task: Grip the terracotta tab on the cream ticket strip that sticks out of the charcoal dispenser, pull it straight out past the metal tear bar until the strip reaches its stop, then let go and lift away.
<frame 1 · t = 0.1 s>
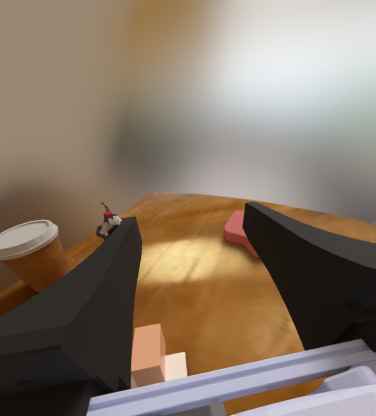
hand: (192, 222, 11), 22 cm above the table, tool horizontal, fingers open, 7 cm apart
disposable coffee cup: (53, 279, 35), on the table
sundae: (126, 265, 38), on the table
plaque: (261, 240, 43), on the table
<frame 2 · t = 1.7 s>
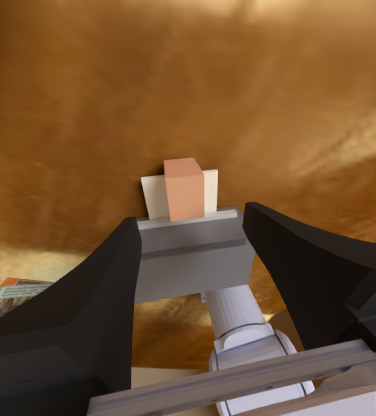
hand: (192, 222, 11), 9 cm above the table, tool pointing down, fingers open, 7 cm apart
ticket: (185, 226, 18), point 3 cm above the table, slide at 0.0 cm
milk carton: (52, 301, 27), on the table
dispenser: (184, 236, 23), on the table
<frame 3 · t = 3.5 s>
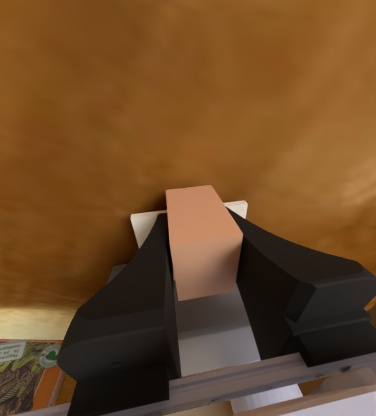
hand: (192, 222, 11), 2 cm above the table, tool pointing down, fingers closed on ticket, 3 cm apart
ticket: (198, 284, 12), point 3 cm above the table, slide at 0.0 cm, touching gripper
milk carton: (21, 357, 21), on the table
dispenser: (193, 281, 17), on the table
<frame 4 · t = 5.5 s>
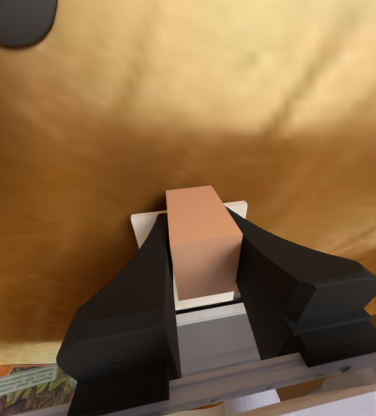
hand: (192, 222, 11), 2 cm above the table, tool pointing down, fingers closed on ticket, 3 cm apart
ticket: (198, 285, 12), point 3 cm above the table, slide at 7.4 cm, touching gripper
milk carton: (50, 376, 25), on the table
dispenser: (195, 317, 21), on the table
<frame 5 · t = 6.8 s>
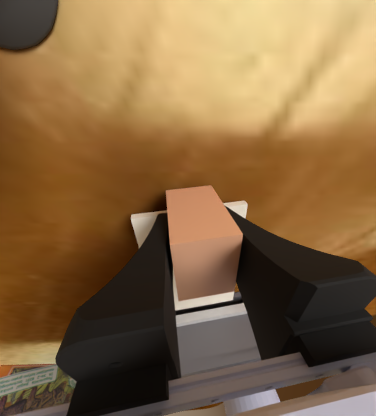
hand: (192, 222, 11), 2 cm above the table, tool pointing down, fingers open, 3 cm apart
ticket: (198, 285, 12), point 3 cm above the table, slide at 7.5 cm
milk carton: (50, 377, 25), on the table
dispenser: (195, 317, 21), on the table
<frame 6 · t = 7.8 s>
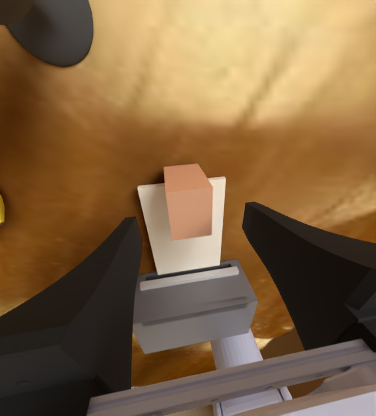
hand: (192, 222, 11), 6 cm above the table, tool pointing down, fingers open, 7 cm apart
ticket: (189, 241, 16), point 3 cm above the table, slide at 7.5 cm
dispenser: (189, 284, 25), on the table
sundae: (47, 11, 10), on the table
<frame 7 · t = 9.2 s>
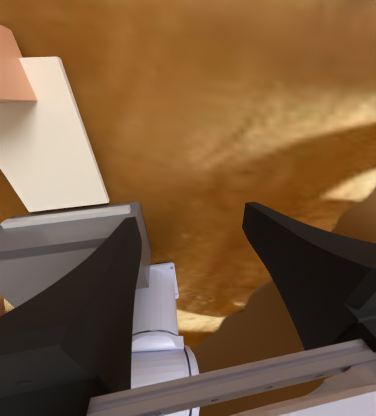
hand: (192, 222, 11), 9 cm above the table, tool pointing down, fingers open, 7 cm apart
ticket: (19, 144, 13), point 3 cm above the table, slide at 7.5 cm
dispenser: (90, 235, 22), on the table
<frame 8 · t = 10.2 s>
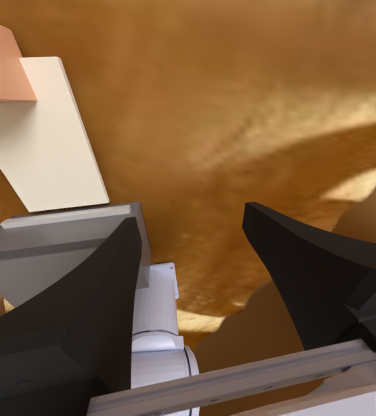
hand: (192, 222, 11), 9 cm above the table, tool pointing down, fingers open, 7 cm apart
ticket: (19, 144, 13), point 3 cm above the table, slide at 7.5 cm
dispenser: (90, 235, 22), on the table
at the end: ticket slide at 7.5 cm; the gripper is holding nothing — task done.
